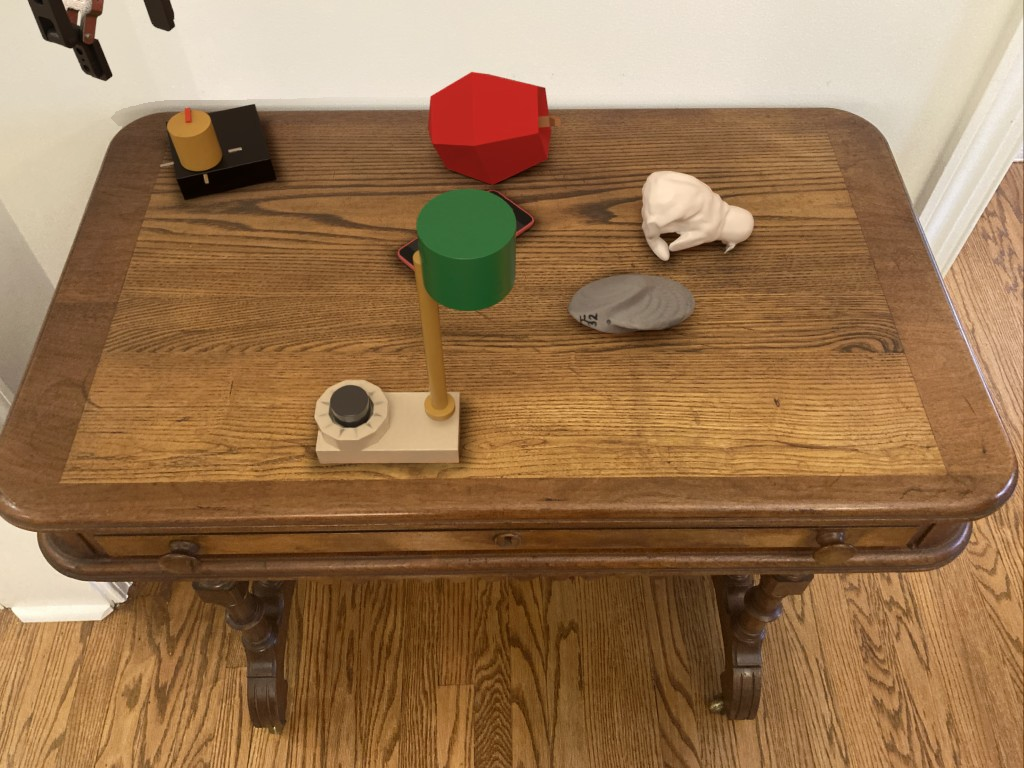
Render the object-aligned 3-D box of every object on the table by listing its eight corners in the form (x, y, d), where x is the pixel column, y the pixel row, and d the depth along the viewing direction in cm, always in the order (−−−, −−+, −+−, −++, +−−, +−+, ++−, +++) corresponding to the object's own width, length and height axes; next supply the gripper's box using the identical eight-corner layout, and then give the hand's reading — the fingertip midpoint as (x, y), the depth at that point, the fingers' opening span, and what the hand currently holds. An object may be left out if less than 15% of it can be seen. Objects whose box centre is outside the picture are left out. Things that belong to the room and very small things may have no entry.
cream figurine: (646, 154, 84) (765, 165, 85) (628, 217, 91) (738, 228, 92) (651, 198, 80) (775, 210, 81) (631, 261, 87) (746, 271, 88)
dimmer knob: (223, 167, 91) (211, 130, 87) (181, 174, 90) (166, 137, 86) (221, 141, 93) (208, 104, 90) (179, 147, 93) (165, 110, 89)
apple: (449, 129, 101) (574, 116, 98) (434, 205, 95) (568, 193, 92) (419, 43, 92) (557, 25, 88) (400, 121, 85) (548, 105, 82)
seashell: (675, 373, 79) (710, 290, 84) (673, 339, 75) (710, 253, 79) (562, 342, 84) (600, 264, 88) (552, 308, 79) (593, 228, 83)
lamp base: (319, 464, 74) (310, 440, 70) (327, 405, 77) (319, 379, 74) (459, 463, 74) (456, 439, 71) (460, 405, 77) (458, 379, 74)
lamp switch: (331, 427, 72) (327, 416, 70) (335, 396, 73) (331, 384, 72) (369, 427, 72) (366, 416, 70) (372, 396, 73) (369, 384, 72)
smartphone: (393, 251, 87) (492, 186, 93) (393, 255, 88) (492, 190, 93) (438, 288, 84) (538, 219, 90) (438, 292, 85) (538, 223, 91)
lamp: (422, 441, 70) (395, 259, 53) (426, 378, 74) (402, 188, 57) (513, 440, 70) (517, 259, 53) (513, 377, 74) (515, 188, 57)
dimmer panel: (174, 214, 91) (164, 191, 89) (162, 145, 98) (152, 123, 95) (280, 190, 93) (273, 167, 91) (261, 125, 100) (254, 102, 97)
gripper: (86, -189, 69) (152, 3, 82) (-53, -116, 61) (44, 83, 74) (162, -171, 67) (216, 23, 80) (28, -94, 59) (113, 107, 72)
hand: (133, 51), depth 77 cm, fingers open, 8 cm apart
